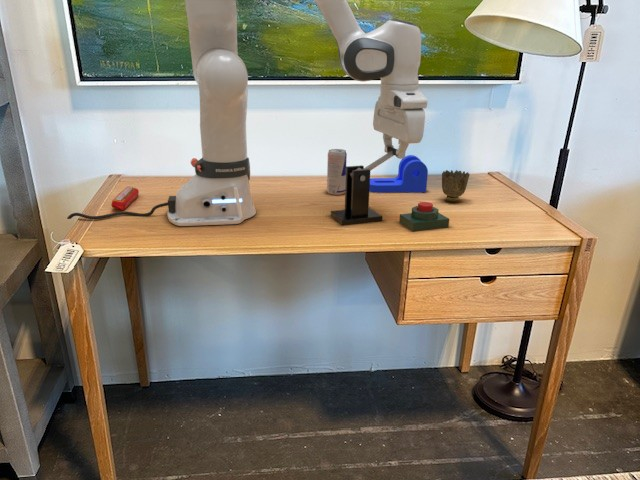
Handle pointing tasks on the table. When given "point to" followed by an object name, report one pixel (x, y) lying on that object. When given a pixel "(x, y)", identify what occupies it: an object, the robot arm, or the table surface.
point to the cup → (454, 184)
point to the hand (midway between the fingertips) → (394, 155)
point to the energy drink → (336, 171)
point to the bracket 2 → (404, 178)
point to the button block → (424, 220)
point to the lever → (380, 159)
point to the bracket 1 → (356, 199)
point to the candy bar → (125, 198)
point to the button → (425, 207)
